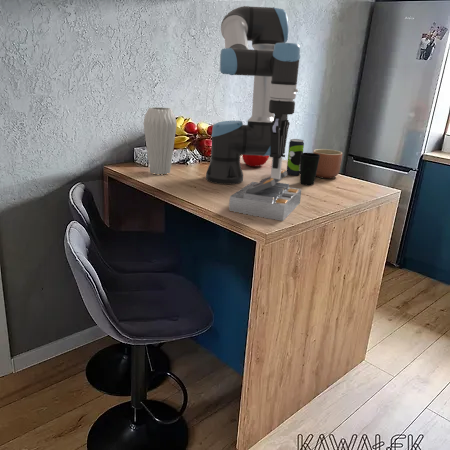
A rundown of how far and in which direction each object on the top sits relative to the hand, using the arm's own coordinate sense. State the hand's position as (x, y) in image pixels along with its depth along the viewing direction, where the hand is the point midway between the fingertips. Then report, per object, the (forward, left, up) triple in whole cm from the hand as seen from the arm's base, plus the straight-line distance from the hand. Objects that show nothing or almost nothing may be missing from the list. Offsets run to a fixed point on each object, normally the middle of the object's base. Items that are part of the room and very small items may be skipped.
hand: (275, 178), depth 142 cm
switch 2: (-4, +7, -4) cm, 9 cm away
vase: (-57, +28, -12) cm, 65 cm away
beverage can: (-8, +59, -12) cm, 61 cm away
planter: (+5, +63, -12) cm, 64 cm away
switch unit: (-4, +7, -12) cm, 15 cm away
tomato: (-28, +65, -12) cm, 72 cm away
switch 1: (-4, 0, -4) cm, 6 cm away
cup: (+1, +46, -12) cm, 48 cm away
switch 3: (-4, +14, -4) cm, 15 cm away
